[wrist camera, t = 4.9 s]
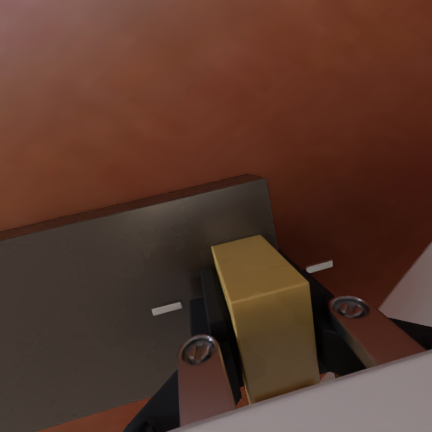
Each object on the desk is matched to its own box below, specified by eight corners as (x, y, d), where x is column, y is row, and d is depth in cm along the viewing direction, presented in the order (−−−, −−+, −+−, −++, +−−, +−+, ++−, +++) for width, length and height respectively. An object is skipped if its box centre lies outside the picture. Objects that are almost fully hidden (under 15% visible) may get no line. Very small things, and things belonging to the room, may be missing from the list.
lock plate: (292, 163, 14) (323, 164, 11) (310, 308, 16) (340, 343, 13) (-88, 252, 12) (-180, 284, 9) (-1, 397, 15) (-49, 460, 12)
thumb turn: (210, 245, 11) (230, 308, 6) (260, 233, 11) (314, 286, 6) (230, 334, 12) (258, 439, 8) (274, 322, 12) (328, 417, 8)
